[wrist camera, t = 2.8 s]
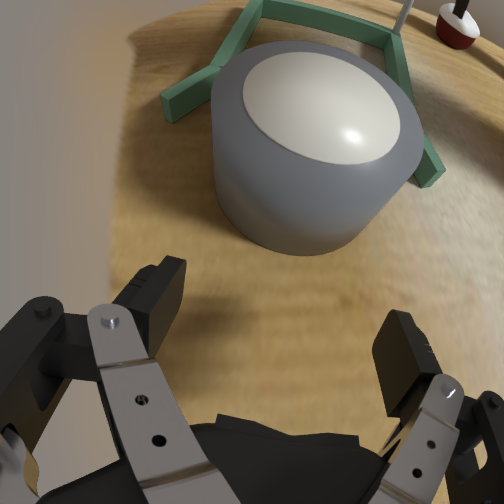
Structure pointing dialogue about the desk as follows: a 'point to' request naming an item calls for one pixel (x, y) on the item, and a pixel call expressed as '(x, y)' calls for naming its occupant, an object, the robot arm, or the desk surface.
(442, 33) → the cocoa
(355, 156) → the grey cylinder
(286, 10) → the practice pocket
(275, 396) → the desk surface
